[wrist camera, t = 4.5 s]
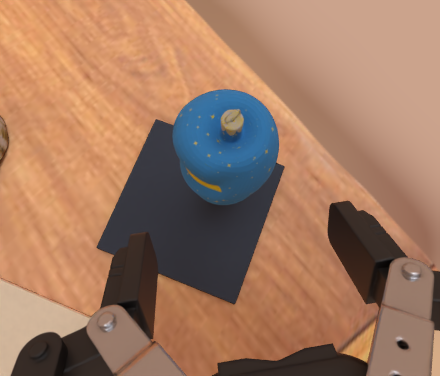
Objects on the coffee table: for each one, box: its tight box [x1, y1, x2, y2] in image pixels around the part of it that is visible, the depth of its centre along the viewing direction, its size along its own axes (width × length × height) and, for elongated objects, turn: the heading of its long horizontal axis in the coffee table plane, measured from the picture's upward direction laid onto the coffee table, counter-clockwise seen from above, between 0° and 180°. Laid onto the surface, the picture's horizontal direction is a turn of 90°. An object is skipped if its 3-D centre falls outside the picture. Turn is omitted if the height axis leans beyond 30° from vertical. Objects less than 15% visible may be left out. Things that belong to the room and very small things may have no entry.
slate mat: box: [97, 119, 284, 304], centre depth 27 cm, size 12×12×1 cm
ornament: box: [172, 89, 279, 205], centre depth 20 cm, size 5×5×15 cm
